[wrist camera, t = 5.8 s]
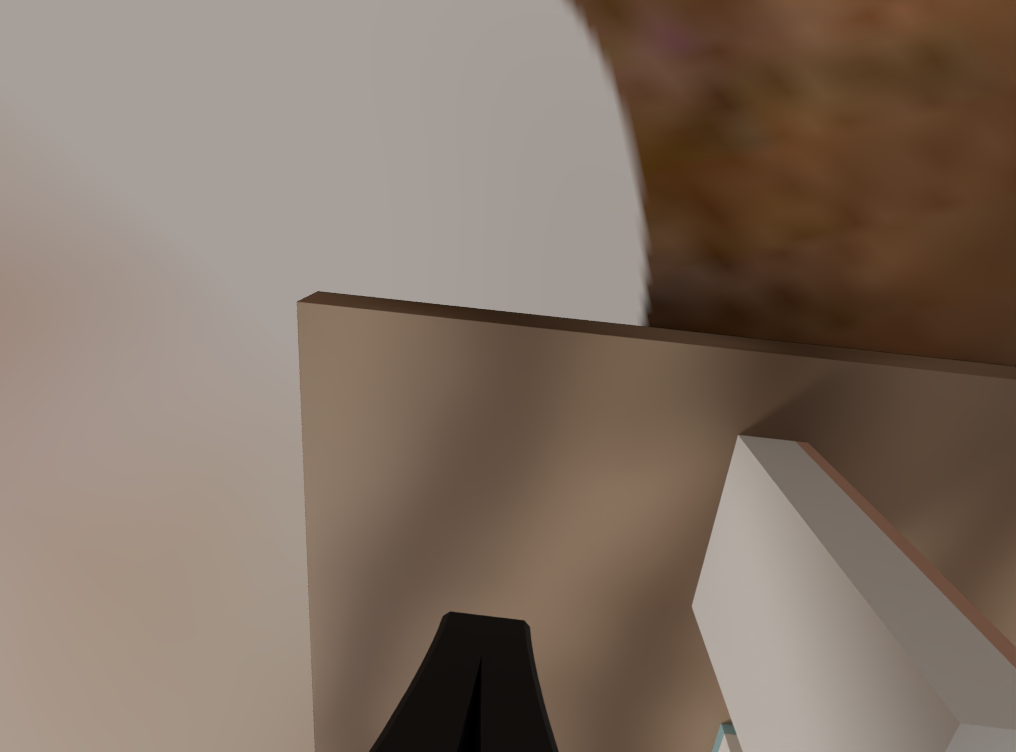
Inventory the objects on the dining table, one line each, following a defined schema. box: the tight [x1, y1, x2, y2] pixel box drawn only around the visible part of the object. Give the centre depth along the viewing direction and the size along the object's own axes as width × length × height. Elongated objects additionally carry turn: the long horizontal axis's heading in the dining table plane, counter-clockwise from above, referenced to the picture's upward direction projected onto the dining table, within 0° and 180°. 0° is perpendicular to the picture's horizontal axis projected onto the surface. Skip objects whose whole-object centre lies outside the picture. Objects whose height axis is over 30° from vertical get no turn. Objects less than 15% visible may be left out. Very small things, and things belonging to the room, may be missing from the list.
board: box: [297, 291, 1016, 752], centre depth 15 cm, size 20×18×1 cm
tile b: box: [692, 435, 1016, 752], centre depth 10 cm, size 2×5×7 cm, turn 174°
